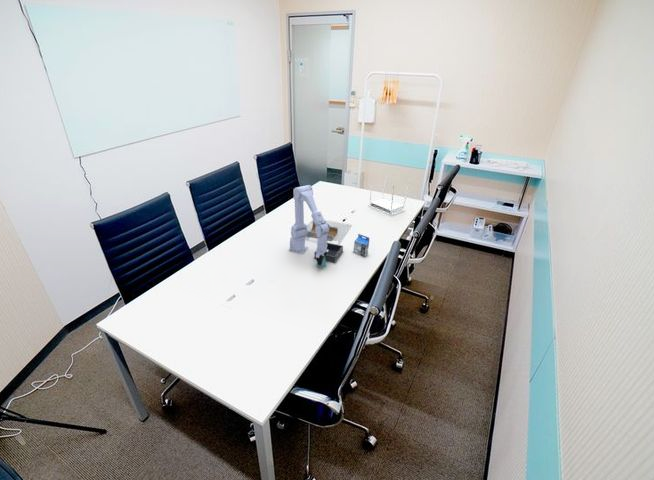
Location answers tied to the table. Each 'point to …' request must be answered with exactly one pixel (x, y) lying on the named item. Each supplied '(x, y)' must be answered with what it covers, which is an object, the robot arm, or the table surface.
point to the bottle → (322, 262)
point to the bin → (333, 252)
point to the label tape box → (361, 245)
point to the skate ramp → (334, 233)
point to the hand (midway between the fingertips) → (321, 262)
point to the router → (387, 203)
